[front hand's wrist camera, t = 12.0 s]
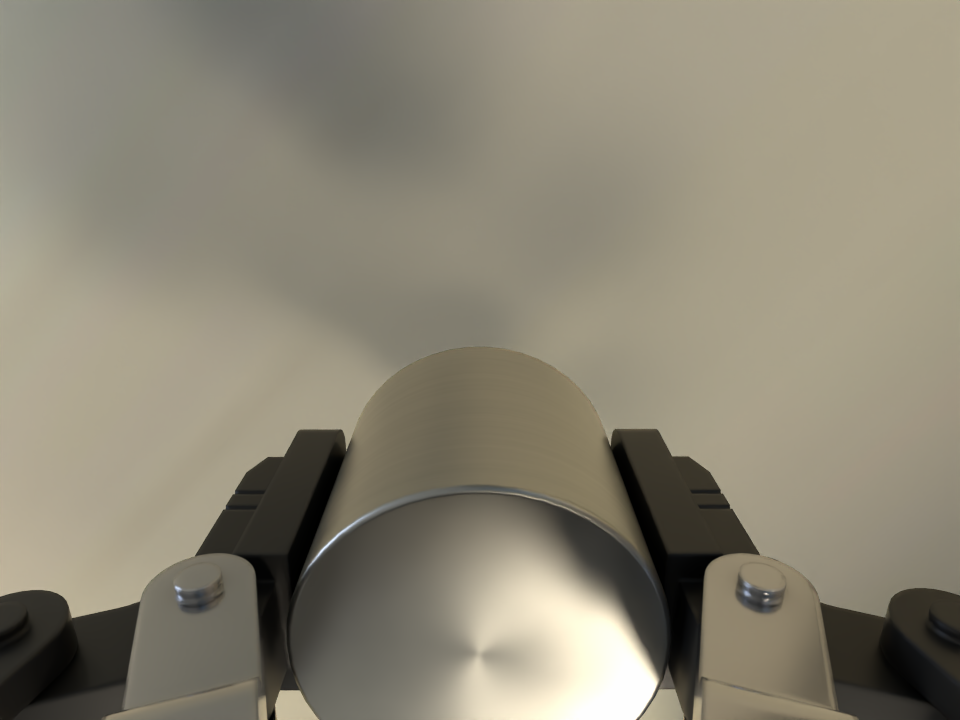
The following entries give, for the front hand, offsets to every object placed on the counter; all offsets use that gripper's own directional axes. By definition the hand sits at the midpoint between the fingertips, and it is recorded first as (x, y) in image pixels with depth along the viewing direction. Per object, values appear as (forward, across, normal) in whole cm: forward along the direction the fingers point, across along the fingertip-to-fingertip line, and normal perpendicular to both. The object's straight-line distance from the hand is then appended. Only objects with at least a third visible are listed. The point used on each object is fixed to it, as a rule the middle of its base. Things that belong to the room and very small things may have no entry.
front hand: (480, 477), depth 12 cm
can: (+1, 0, 0) cm, 1 cm away
